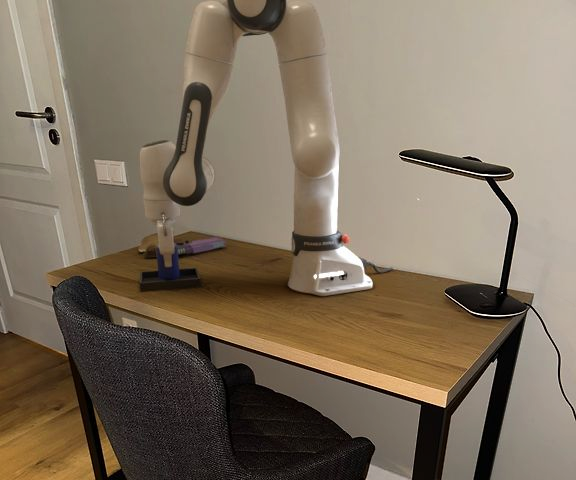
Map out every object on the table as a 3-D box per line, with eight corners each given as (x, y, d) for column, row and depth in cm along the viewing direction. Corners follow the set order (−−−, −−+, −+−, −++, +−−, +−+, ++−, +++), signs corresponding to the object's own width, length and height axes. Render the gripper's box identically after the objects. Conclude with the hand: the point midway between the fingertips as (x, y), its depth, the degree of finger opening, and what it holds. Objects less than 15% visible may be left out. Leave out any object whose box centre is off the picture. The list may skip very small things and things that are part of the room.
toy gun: (208, 243, 194) (226, 249, 188) (158, 253, 182) (175, 259, 176) (208, 231, 193) (226, 236, 186) (157, 240, 181) (174, 246, 174)
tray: (197, 275, 162) (197, 267, 161) (201, 287, 153) (200, 278, 152) (140, 279, 159) (139, 271, 158) (140, 291, 150) (139, 283, 149)
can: (179, 273, 158) (176, 241, 154) (180, 280, 153) (177, 246, 149) (158, 275, 157) (154, 242, 153) (159, 281, 152) (155, 247, 148)
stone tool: (173, 255, 177) (177, 237, 199) (170, 242, 175) (175, 225, 197) (136, 262, 177) (144, 243, 199) (132, 249, 175) (141, 231, 197)
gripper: (177, 217, 138) (182, 273, 145) (173, 201, 156) (177, 252, 163) (150, 218, 137) (156, 274, 144) (149, 202, 155) (155, 253, 161)
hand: (168, 262), depth 153 cm, fingers closed on can, 5 cm apart
